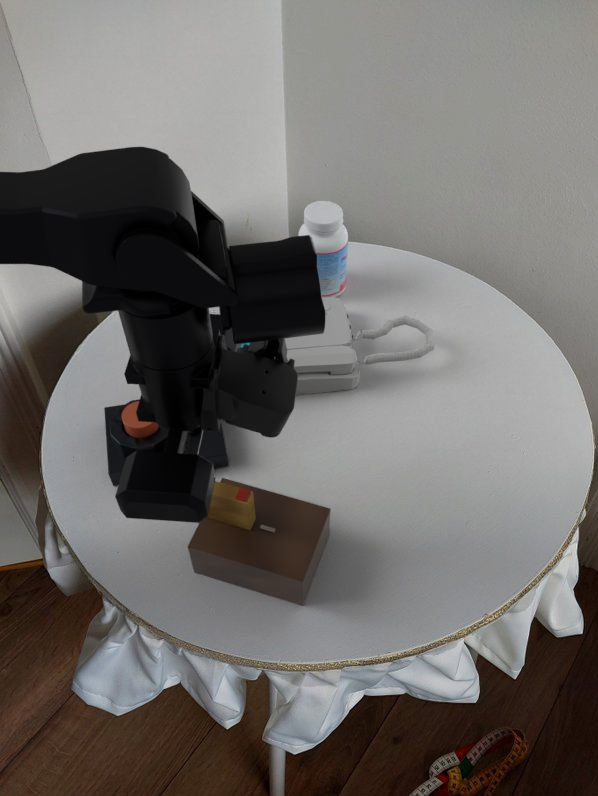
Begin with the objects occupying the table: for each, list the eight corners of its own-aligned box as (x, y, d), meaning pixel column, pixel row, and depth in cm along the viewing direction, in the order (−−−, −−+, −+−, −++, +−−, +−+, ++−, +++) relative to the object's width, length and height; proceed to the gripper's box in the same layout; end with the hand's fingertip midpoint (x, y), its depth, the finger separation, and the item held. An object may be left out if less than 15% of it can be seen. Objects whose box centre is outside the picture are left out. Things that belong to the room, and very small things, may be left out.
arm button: (126, 441, 74) (122, 430, 72) (123, 414, 76) (120, 403, 74) (161, 435, 74) (159, 424, 73) (158, 409, 76) (156, 398, 75)
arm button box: (112, 486, 75) (104, 463, 71) (108, 420, 80) (100, 396, 77) (229, 466, 77) (225, 443, 73) (217, 403, 82) (213, 379, 79)
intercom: (446, 355, 81) (222, 376, 78) (440, 382, 85) (226, 402, 82) (420, 278, 89) (216, 294, 86) (416, 305, 93) (219, 321, 90)
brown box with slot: (175, 566, 69) (167, 539, 65) (209, 500, 74) (203, 470, 70) (303, 606, 67) (302, 580, 63) (329, 535, 72) (330, 507, 68)
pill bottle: (351, 297, 93) (356, 223, 84) (306, 306, 92) (306, 231, 83) (337, 267, 97) (340, 193, 88) (293, 275, 95) (292, 201, 86)
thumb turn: (204, 517, 67) (197, 488, 63) (210, 504, 68) (204, 475, 64) (250, 530, 66) (247, 502, 62) (256, 518, 67) (253, 490, 63)
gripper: (273, 458, 44) (281, 576, 56) (300, 260, 55) (302, 396, 67) (90, 446, 44) (138, 567, 56) (154, 251, 55) (183, 388, 68)
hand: (198, 471), depth 62 cm, fingers open, 9 cm apart
